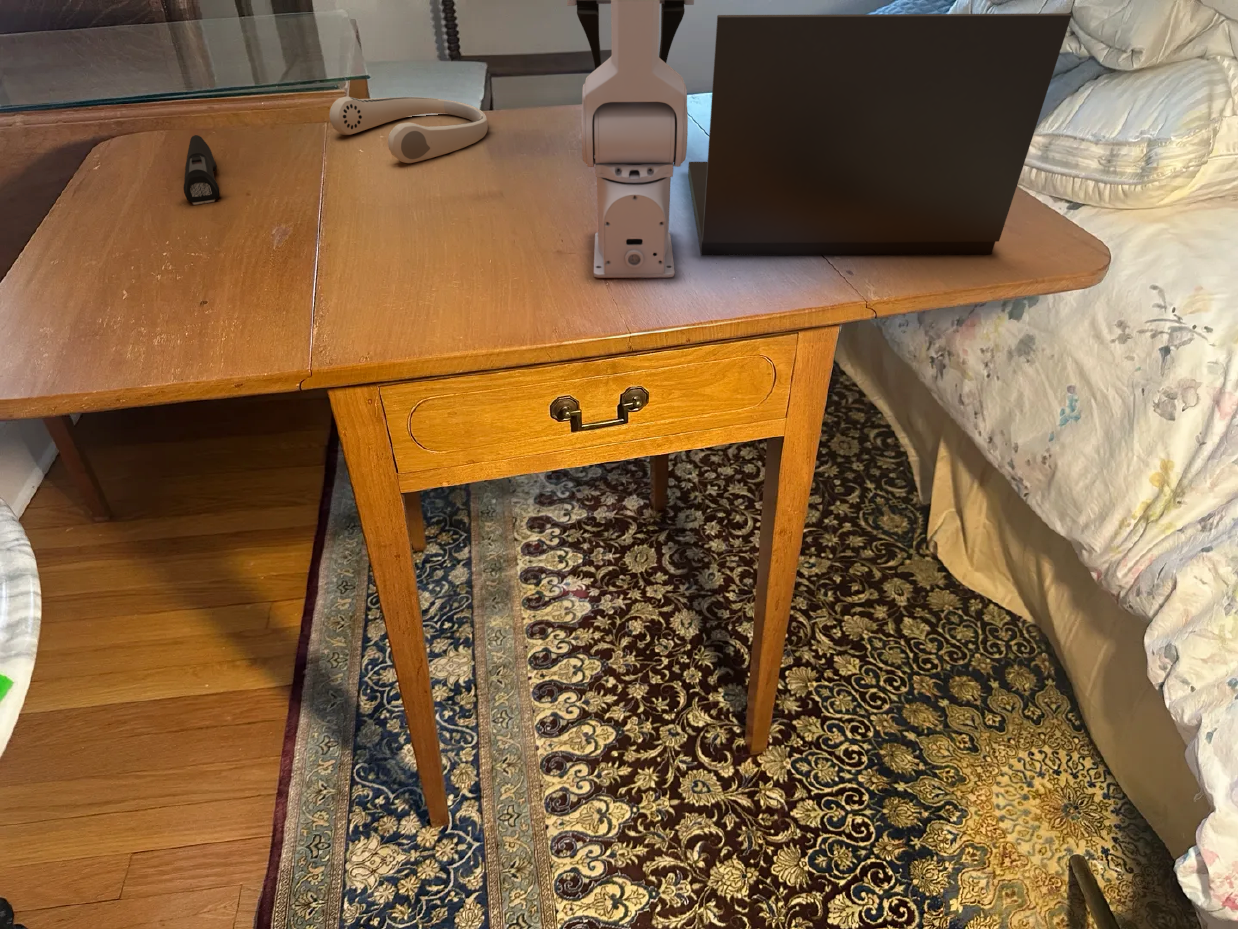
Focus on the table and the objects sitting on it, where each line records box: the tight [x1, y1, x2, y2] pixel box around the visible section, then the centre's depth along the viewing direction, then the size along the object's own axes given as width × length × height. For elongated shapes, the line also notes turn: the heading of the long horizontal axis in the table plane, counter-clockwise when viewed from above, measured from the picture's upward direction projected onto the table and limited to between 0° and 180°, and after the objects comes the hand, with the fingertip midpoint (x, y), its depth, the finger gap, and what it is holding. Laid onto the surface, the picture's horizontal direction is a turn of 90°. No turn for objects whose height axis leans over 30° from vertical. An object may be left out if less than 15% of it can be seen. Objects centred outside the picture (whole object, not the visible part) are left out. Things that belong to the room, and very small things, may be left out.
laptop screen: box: [702, 12, 1072, 243], centre depth 80 cm, size 21×30×1 cm
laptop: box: [687, 161, 996, 257], centre depth 96 cm, size 21×30×2 cm
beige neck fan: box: [329, 95, 489, 164], centre depth 114 cm, size 18×17×5 cm
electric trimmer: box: [183, 134, 221, 205], centre depth 104 cm, size 4×16×3 cm, turn 21°
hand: (630, 70), depth 104 cm, fingers open, 7 cm apart
